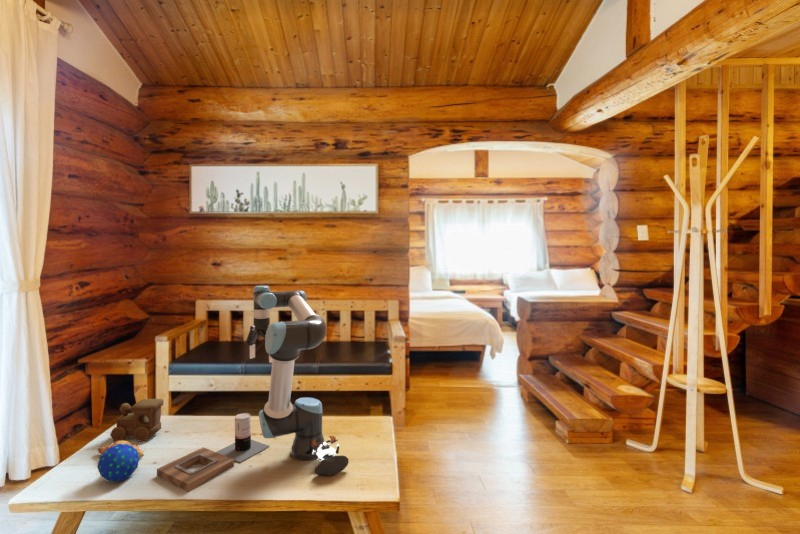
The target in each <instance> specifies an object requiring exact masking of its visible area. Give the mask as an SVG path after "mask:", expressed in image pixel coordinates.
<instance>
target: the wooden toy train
mask: <svg viewBox="0 0 800 534" xmlns="http://www.w3.org/2000/svg"><path fill="white" fill-rule="evenodd" d="M164 404H165V403H164V399H163V398H146V399H145V398H144V399H141V400H139V401H138V402H136V403H134V404H133V405H132V406H131V405H130V403H128V402H124V403H122V404H121V405H120V407H119V411H120V413H121V415H120V416H118V417H117V418H116V427H113V428H112V430H111V431H110V434H109V436H110V437H111V439H112V440H113V441H115V442H117V441H121V440H123V441H125V439H126V438H127V437H134V439H135V440H136V441H137V442H145V441H147V440H148V439H149V437H151V436H154V435H155V434H156V433H158V432H159V431H160V430H162V422H161V417H162V406H164ZM129 412H130V413H129Z"/></svg>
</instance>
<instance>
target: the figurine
mask: <svg viewBox="0 0 800 534" xmlns="http://www.w3.org/2000/svg"><path fill="white" fill-rule="evenodd" d="M328 437H329V438H330V440H327V441H325V442H319V443H318V444H316V443H315V442H316V440H315V439H314V440H313V441H311V443H312V444H311V446H310V447H318V449H317V453H315V452H316V451H314V450H313V452H312V454H313V455H314V456H315V459H314V460H318V462H319V463H318V465H317V466H316V467H315V468H314V470H313V472H314V475H317V476H324V475H326V476H327V475H328V477H331V476H335V475H336V474H340V473H341V472H342V471H344V470H345V469H346V468H347V467H348V465H349V458H348V457H347V456H346V455H338V454H339V453H340V447H341V446H340V444H339V443H337V444H336V448H335V447H333V446H331V444H335V443H336V442H338V441H339V439H337V437H336V436H335V435H328ZM319 444H320V446H318V445H319Z"/></svg>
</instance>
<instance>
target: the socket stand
mask: <svg viewBox="0 0 800 534" xmlns="http://www.w3.org/2000/svg"><path fill="white" fill-rule="evenodd" d="M216 452H217V451H213V450H211V449H209V448H206V447H204V446H203V447H201V448H199V449H197V450H194V451H192V452H190V453H188V454H186V455H183V456H182V457H179V458H177V459H175V460H173V461H171V462H169V463H166V464H164V465H162V466H160V467H158V468H156V477H157V476H158V477H157V478H159V477H160V478H159V479H161V478H162V479H161V480H163V479H164V481H165V480H166V482H167V481H168V482H167V483H169V482H170V483H169V484H171V483H172V485H174V486H175V487H177V488H179V489H181V490H183V491H186V492H191V491H192V490H195V489H196V488H199V487H200V486H201V485H203V484H205V483H207V482H209V481H211V480H212V479H215V478H216V477H218V476H220V475H222V474H224V473H225V472H227V471H229V470H230V469H233V468H235V467H234V466H235V461H234V459H231V458H229V457H226V456H224V455H221V454H219V453H216ZM198 464H202V465H203V466H202V467H199V468H197V469H196V470H193V471H191V470H189V469H190V468H192V467H194V466H196V465H198Z"/></svg>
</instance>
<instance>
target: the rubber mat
mask: <svg viewBox="0 0 800 534" xmlns="http://www.w3.org/2000/svg"><path fill="white" fill-rule="evenodd" d="M268 447H269V448H270V445H268V444H265V443H262V442H260V441H257V440H253V439H251V448H250V449H249V450H248V451H245V452H237V451H236V450H235V442H233V443H232V444H229V445H226V446H225V447H223V448H222V449H219V450H217V451H215V452H216V453H219V454H221V455H224V456H226V457H229V458H231V459H234V462H235V463H238V464H242V463H243V462H245V461H247V460H249V459H250V458H252V457H254V456H256V455H258V454H259V452H260V453H261V451H262V452H263V451H265V450H266V448H267V449H268Z"/></svg>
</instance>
